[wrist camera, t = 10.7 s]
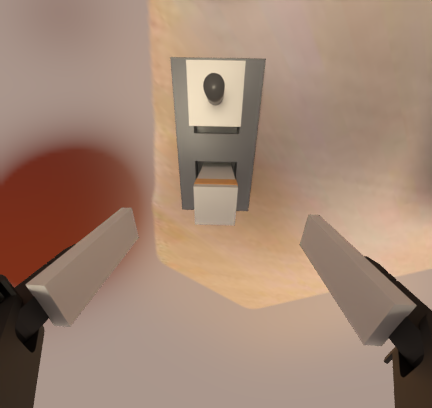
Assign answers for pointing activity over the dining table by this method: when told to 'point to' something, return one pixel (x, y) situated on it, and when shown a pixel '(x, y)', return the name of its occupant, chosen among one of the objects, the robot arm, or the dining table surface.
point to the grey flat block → (217, 133)
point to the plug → (215, 195)
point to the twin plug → (215, 92)
